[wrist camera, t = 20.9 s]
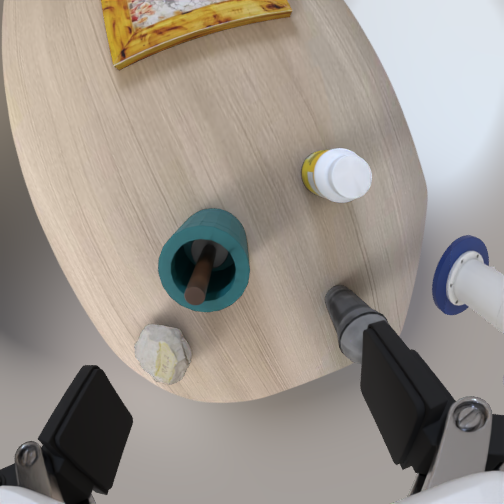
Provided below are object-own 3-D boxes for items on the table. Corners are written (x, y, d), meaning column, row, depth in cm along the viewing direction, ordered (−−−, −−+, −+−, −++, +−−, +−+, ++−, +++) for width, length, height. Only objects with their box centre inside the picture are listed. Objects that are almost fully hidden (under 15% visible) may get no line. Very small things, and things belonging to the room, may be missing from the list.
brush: (225, 223, 38) (215, 265, 22) (232, 255, 40) (228, 316, 24) (192, 229, 39) (160, 275, 22) (199, 261, 40) (176, 324, 24)
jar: (239, 202, 39) (239, 217, 27) (251, 266, 41) (256, 304, 30) (173, 215, 39) (147, 236, 27) (189, 277, 41) (172, 317, 30)
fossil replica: (149, 367, 47) (200, 363, 48) (142, 399, 39) (200, 396, 40) (128, 315, 42) (185, 309, 43) (116, 346, 34) (182, 342, 35)
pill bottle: (342, 151, 37) (379, 147, 26) (342, 195, 39) (379, 207, 28) (298, 150, 37) (322, 144, 26) (300, 196, 39) (324, 208, 28)
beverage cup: (335, 268, 42) (397, 340, 23) (366, 290, 44) (430, 361, 25) (307, 304, 44) (348, 392, 25) (339, 323, 45) (386, 406, 26)
